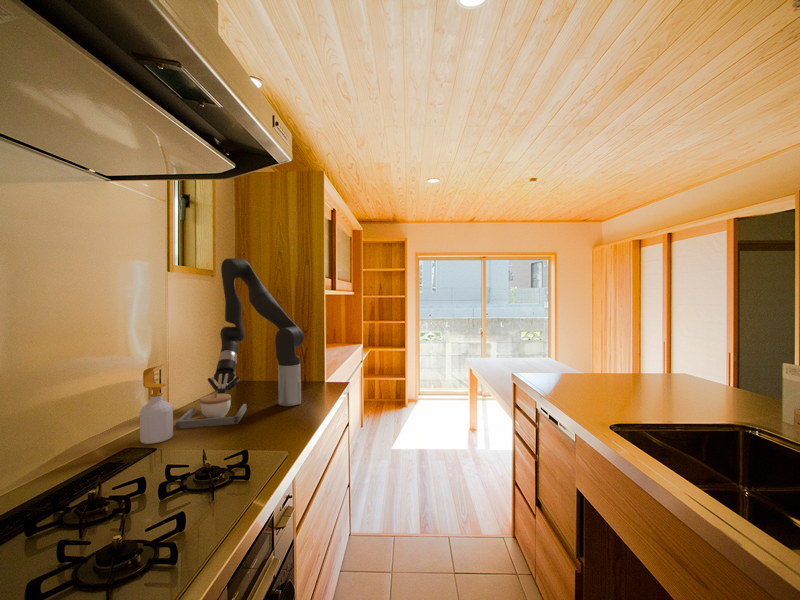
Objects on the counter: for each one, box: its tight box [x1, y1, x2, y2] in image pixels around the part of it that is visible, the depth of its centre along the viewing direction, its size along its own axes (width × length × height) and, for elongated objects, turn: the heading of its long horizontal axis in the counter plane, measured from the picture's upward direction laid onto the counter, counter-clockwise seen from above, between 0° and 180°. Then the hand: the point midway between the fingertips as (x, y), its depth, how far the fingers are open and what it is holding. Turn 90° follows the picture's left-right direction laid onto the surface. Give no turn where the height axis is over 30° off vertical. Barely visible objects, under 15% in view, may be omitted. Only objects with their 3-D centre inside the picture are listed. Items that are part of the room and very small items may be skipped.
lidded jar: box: [199, 392, 232, 418], centre depth 140 cm, size 11×11×9 cm
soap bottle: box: [139, 363, 174, 445], centre depth 119 cm, size 9×9×25 cm
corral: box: [175, 403, 247, 430], centre depth 139 cm, size 20×17×2 cm
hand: (220, 398), depth 149 cm, fingers closed
